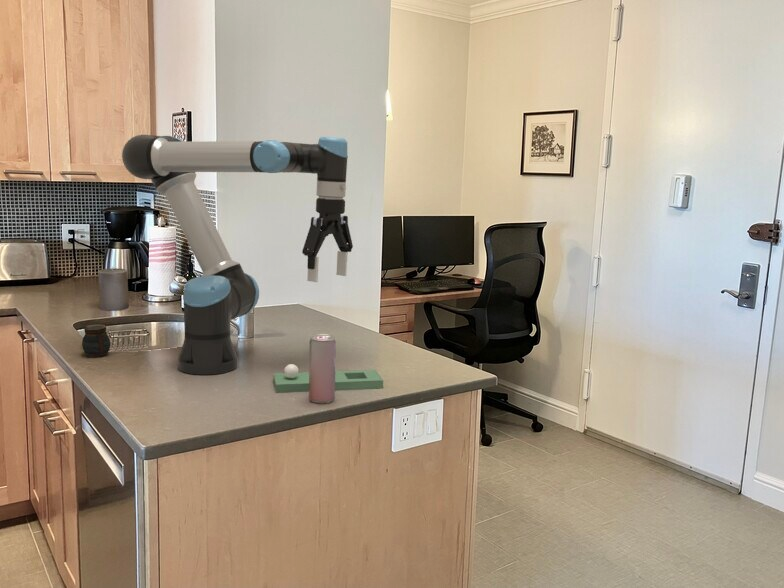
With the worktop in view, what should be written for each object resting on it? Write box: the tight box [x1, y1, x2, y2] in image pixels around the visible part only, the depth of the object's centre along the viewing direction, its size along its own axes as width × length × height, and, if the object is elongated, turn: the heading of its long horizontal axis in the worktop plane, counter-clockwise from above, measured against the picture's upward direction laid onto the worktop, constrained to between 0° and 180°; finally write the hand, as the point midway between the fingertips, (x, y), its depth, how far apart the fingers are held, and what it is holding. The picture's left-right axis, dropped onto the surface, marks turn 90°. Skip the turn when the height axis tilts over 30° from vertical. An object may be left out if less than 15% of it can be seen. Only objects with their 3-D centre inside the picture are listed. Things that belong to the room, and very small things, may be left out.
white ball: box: [283, 363, 300, 379], centre depth 171 cm, size 4×4×4 cm
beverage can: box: [308, 333, 337, 405], centre depth 161 cm, size 6×6×15 cm
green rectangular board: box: [272, 369, 384, 394], centre depth 173 cm, size 26×9×2 cm, turn 104°
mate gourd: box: [79, 321, 111, 358], centre depth 191 cm, size 7×8×10 cm
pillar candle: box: [97, 267, 130, 312], centre depth 250 cm, size 10×10×15 cm
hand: (327, 278), depth 186 cm, fingers open, 13 cm apart
